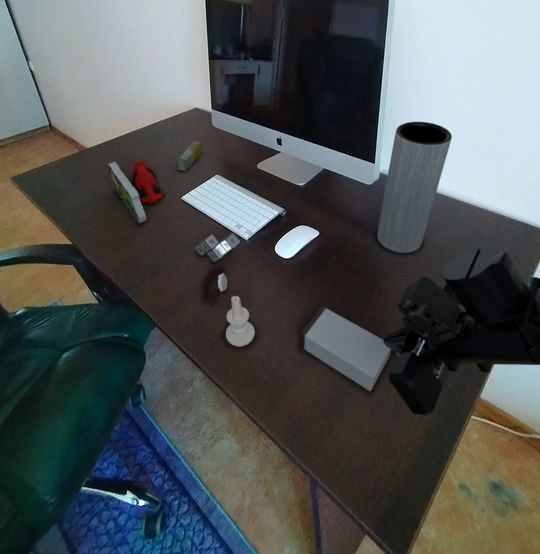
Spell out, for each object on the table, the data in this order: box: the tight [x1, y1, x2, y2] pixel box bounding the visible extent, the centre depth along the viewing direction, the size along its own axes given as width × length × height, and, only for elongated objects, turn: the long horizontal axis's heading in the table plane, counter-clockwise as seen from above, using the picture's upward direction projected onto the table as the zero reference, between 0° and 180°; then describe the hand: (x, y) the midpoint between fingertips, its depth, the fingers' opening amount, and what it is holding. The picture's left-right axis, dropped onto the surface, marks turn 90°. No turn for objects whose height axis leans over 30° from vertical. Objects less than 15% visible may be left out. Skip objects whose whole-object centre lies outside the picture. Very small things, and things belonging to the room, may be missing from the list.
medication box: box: [177, 141, 202, 172], centre depth 117 cm, size 12×3×4 cm, turn 165°
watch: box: [202, 266, 228, 301], centre depth 75 cm, size 8×5×4 cm, turn 172°
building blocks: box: [193, 232, 241, 263], centre depth 82 cm, size 5×5×8 cm
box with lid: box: [300, 305, 392, 392], centre depth 62 cm, size 4×7×13 cm
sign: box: [107, 161, 147, 224], centre depth 98 cm, size 22×2×10 cm, turn 36°
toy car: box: [129, 158, 163, 205], centre depth 105 cm, size 6×18×5 cm, turn 26°
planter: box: [376, 121, 453, 254], centre depth 78 cm, size 10×10×27 cm
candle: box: [225, 295, 256, 347], centre depth 64 cm, size 5×5×10 cm
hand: (385, 342), depth 55 cm, fingers closed
